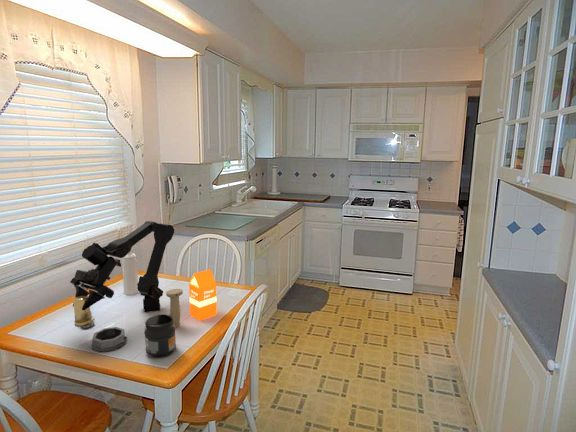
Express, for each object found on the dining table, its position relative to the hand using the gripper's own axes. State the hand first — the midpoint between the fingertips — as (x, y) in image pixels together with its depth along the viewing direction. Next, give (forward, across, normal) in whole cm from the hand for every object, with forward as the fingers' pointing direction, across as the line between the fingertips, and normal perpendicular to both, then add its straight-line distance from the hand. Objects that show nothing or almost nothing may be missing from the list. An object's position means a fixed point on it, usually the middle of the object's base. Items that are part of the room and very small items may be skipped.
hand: (78, 308), depth 138 cm
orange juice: (-19, +24, +38) cm, 49 cm away
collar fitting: (+6, +10, +13) cm, 17 cm away
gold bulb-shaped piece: (+4, 0, +6) cm, 7 cm away
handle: (-9, +21, +29) cm, 37 cm away
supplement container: (+2, +30, +17) cm, 35 cm away
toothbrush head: (0, -19, +20) cm, 27 cm away
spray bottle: (-20, -24, +39) cm, 50 cm away
